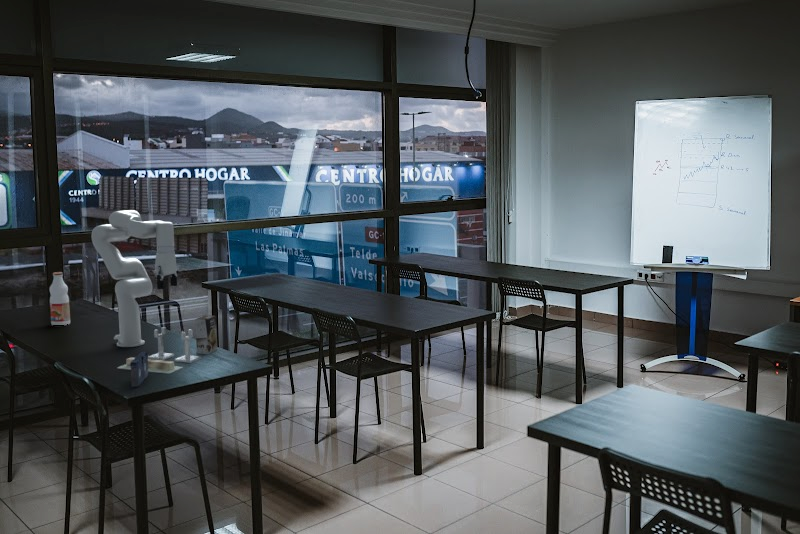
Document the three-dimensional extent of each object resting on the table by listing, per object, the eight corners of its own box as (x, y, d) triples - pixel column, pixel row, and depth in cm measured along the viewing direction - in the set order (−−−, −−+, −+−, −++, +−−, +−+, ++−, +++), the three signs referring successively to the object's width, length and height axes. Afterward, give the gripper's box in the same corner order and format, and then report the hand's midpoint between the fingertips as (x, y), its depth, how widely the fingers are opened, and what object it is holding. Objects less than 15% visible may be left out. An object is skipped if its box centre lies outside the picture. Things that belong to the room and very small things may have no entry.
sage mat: (117, 368, 337) (117, 367, 337) (132, 362, 347) (132, 361, 347) (169, 373, 329) (169, 372, 329) (183, 367, 338) (183, 366, 338)
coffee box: (209, 354, 361) (208, 319, 359) (196, 353, 362) (194, 318, 360) (217, 349, 370) (216, 315, 368) (204, 349, 371) (203, 314, 369)
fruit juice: (72, 324, 426) (69, 272, 423) (54, 327, 421) (51, 274, 417) (67, 321, 434) (64, 270, 430) (49, 324, 428) (45, 272, 424)
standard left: (148, 358, 353) (146, 329, 352) (159, 354, 361) (157, 326, 359) (163, 360, 351) (161, 331, 349) (174, 356, 358) (173, 327, 356)
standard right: (174, 361, 349) (173, 332, 347) (185, 357, 356) (184, 328, 354) (190, 362, 346) (189, 333, 344) (201, 358, 353) (199, 329, 352)
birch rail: (126, 365, 340) (126, 359, 339) (131, 364, 343) (130, 357, 342) (170, 370, 332) (169, 363, 332) (174, 368, 335) (174, 361, 335)
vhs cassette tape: (142, 374, 328) (141, 351, 326) (150, 374, 328) (148, 351, 326) (130, 387, 309) (128, 362, 308) (137, 387, 310) (136, 362, 308)
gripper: (170, 247, 366) (171, 284, 369) (146, 251, 350) (148, 289, 353) (184, 247, 364) (185, 284, 366) (160, 252, 348) (162, 290, 350)
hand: (167, 287), depth 359 cm, fingers open, 9 cm apart
